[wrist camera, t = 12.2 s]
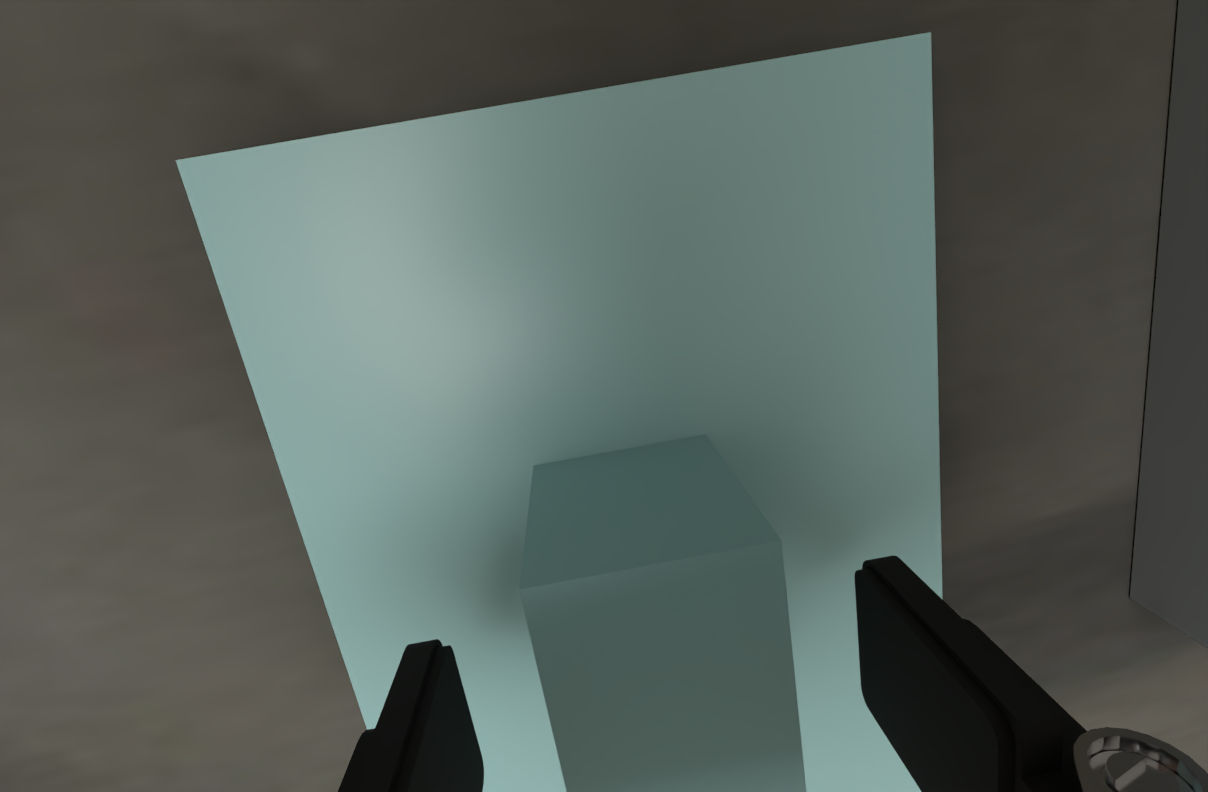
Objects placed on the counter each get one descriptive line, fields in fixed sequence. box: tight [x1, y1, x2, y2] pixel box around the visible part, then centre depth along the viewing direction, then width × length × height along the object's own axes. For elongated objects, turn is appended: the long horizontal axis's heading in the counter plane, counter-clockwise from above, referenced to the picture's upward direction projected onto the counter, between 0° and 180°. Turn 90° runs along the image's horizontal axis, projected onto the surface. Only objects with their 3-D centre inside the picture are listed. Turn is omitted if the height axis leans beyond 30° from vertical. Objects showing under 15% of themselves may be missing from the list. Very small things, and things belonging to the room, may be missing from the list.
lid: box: [176, 32, 942, 792], centre depth 13 cm, size 21×15×6 cm
